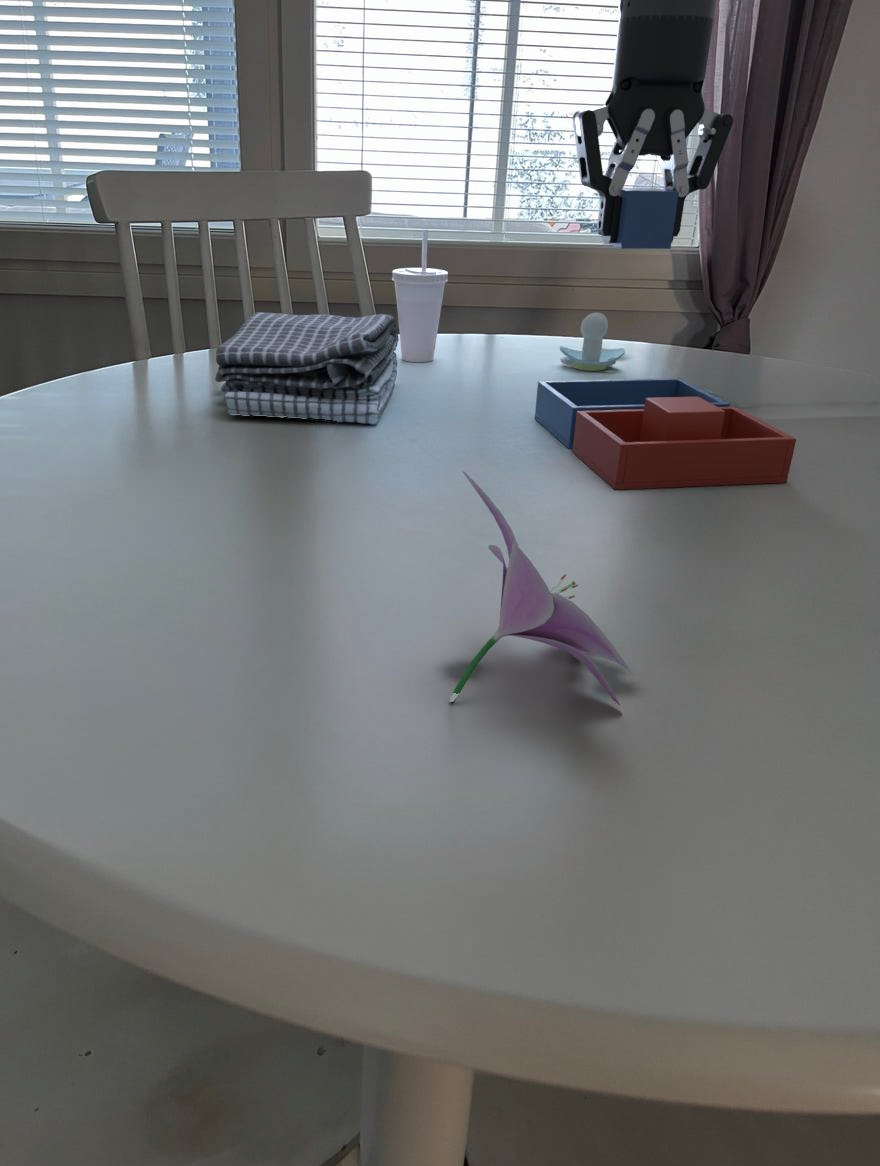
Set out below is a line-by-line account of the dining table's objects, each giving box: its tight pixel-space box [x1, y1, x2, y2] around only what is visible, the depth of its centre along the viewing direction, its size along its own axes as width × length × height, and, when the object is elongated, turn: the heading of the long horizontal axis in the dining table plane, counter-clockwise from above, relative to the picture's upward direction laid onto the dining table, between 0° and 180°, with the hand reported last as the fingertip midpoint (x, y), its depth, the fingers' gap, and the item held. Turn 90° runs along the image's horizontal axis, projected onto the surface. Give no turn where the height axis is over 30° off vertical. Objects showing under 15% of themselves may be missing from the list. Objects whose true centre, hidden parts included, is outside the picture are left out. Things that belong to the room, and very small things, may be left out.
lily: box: [452, 471, 633, 706], centre depth 43 cm, size 12×12×10 cm
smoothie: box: [391, 229, 449, 363], centre depth 107 cm, size 6×6×14 cm
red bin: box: [571, 406, 797, 491], centre depth 75 cm, size 14×10×4 cm
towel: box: [214, 311, 400, 425], centre depth 90 cm, size 15×18×8 cm
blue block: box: [602, 187, 679, 250], centre depth 83 cm, size 5×5×5 cm
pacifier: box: [559, 312, 626, 372], centre depth 107 cm, size 7×6×6 cm
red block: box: [639, 397, 725, 442], centre depth 75 cm, size 5×5×5 cm
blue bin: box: [534, 377, 731, 450], centre depth 84 cm, size 14×10×4 cm
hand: (637, 241), depth 84 cm, fingers closed on blue block, 4 cm apart
